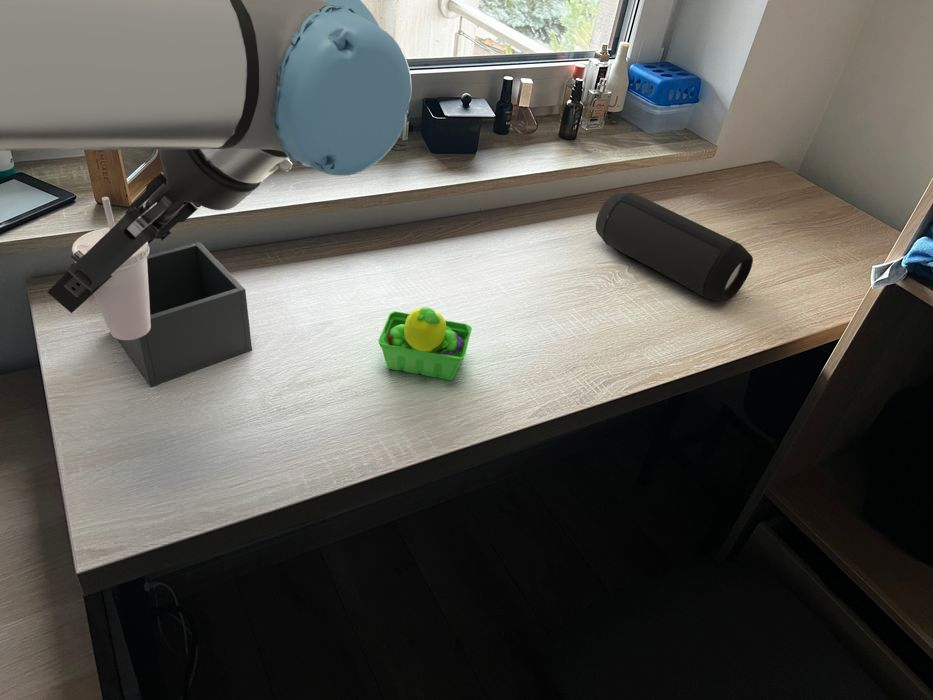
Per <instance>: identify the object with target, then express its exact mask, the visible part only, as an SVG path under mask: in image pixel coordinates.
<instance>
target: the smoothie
mask: <svg viewBox="0 0 933 700" xmlns="http://www.w3.org/2000/svg"><path fill="white" fill-rule="evenodd" d="M101 201H102V205H103V210H104V214H105V217H106V221H107V226H108V227H104V228H99V229H95V230H92V231H89V232H87V233H85V234H82V235H81V236H79V237H78V238H77V239H76V240H75V241H74V242H73V244H72V247H71V252H72V255H73V254H74V253H75V252H77V251H78V250H79V251H80V252H82V253H83V254H84V255H85V254H86V253H87V252H88V251H89V250H90V249H91V248H92V247H93V246H94V245H95V244H96V243H97V242H98V241H99V240H100V239H101V238H102V237H103V236H104V235H105V234H107V233H108V232H109V231H110V230H111V229H112V228H113V227H114V226H115V225H116V222H115V219H114V214H113V210H112V206H111V201H110V197H108V196H102V197H101ZM150 249H151V248H150V244H148V242H147V243H145V244H144V245H143V246H142V247H141V248H140V249H139V250H138V251H137V252H136V253H134V254H133V255H132V256H131V257H130V258H129V259H128V260H127V261H126V262H125V263H123V264H122V265H121V266H120V267H119V268H118V269H117V270H116V271H115V272H113V273H112V274H111V276H112V277H111V278H110V279H109V280H108V281H106V282H105V283H104V284H103V285H102V286H101V287H100V288H99V289H98V290H97V291H96V292H94V293H93V294H92V295H93V297H94V299H95V302H96V304H97V306H98V308H99V310H100V312H101V313H100V314H101V315H102V317H103V320H104V321H105V322H104V323H105V324H106V325H107V328H108V330H109V333H110V335H111V336H112V337H113V338H115V339H116V338H117V339H120V340H133V339H137V338H140V337H142V336H144V335H146V334H147V333H148V332H149V331H150V328H151V321H150V304H149V287H148V267H147V256H148V255H150V252H151V251H150ZM74 263H76V262H75V261H74ZM117 339H116V340H117Z"/></svg>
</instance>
